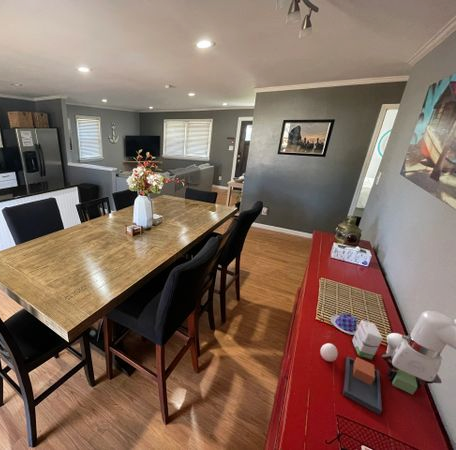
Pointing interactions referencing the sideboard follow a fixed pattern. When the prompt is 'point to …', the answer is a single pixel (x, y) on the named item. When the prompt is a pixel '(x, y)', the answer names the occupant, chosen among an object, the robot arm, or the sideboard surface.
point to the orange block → (363, 371)
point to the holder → (362, 389)
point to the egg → (329, 352)
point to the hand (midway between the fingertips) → (401, 382)
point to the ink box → (367, 339)
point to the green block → (405, 381)
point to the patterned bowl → (345, 323)
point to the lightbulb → (393, 342)
